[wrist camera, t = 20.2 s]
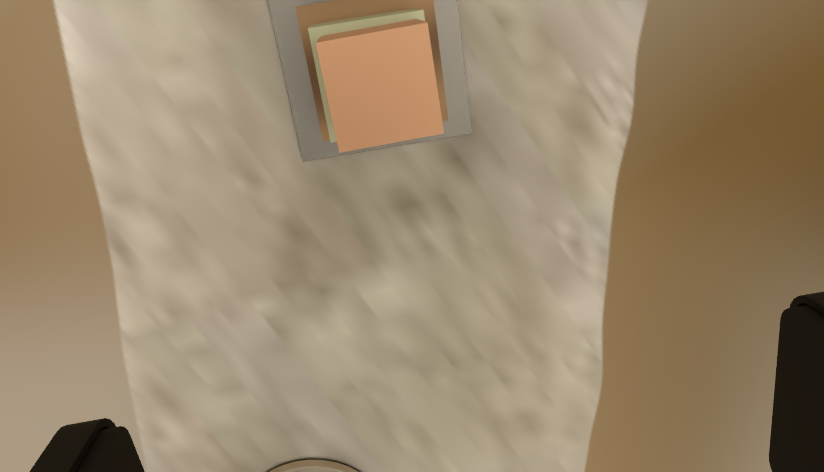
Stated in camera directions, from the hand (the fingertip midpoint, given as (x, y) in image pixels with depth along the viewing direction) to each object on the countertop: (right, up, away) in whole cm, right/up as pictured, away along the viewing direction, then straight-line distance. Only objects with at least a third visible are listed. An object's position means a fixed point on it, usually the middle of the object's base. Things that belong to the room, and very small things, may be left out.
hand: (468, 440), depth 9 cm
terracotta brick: (-3, +11, +24) cm, 27 cm away
